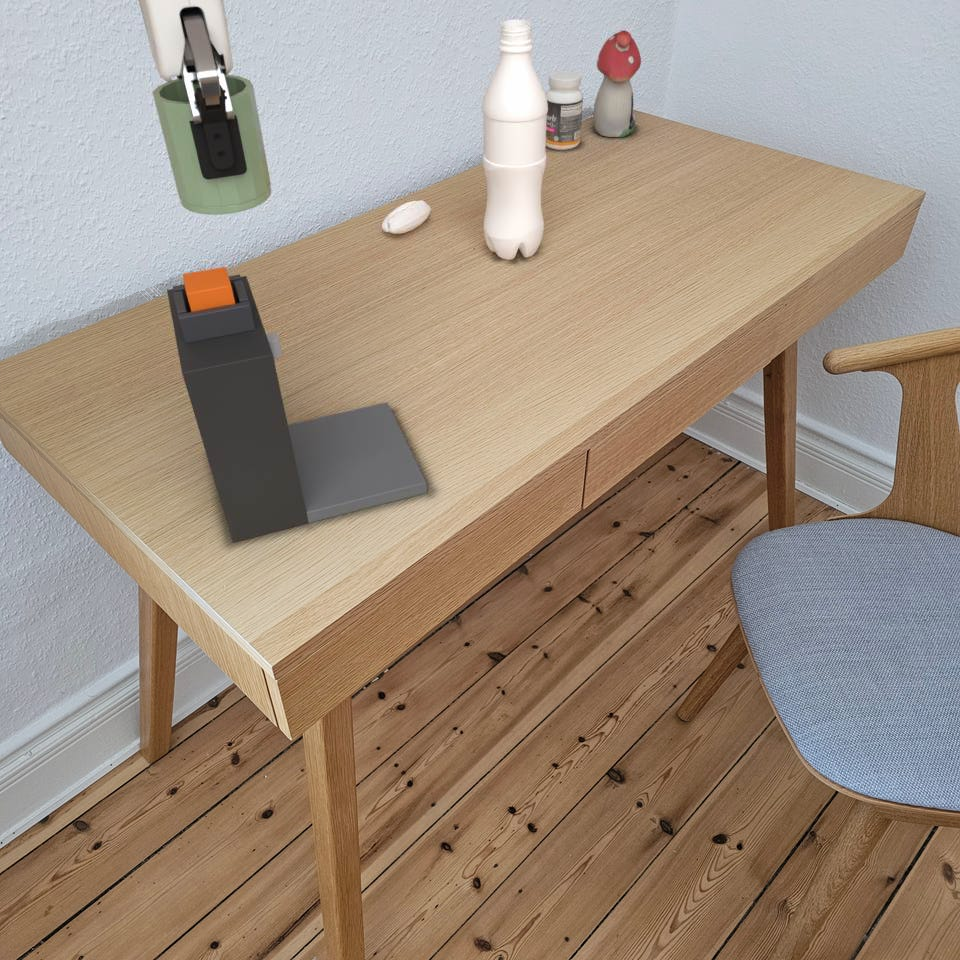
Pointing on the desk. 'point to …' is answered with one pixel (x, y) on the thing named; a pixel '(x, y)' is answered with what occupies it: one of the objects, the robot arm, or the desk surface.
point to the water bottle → (514, 147)
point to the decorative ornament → (616, 86)
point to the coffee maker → (279, 428)
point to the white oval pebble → (406, 217)
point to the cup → (184, 160)
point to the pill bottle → (564, 110)
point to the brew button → (208, 289)
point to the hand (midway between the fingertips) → (217, 155)
